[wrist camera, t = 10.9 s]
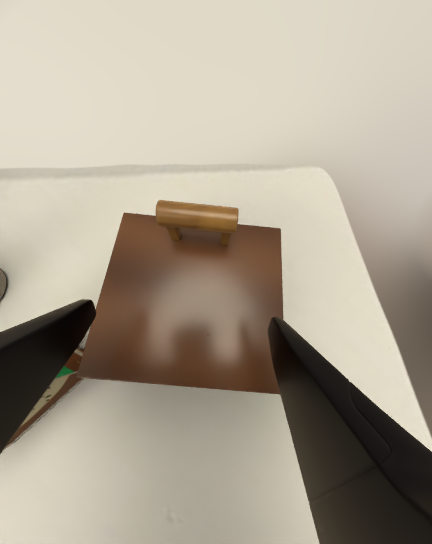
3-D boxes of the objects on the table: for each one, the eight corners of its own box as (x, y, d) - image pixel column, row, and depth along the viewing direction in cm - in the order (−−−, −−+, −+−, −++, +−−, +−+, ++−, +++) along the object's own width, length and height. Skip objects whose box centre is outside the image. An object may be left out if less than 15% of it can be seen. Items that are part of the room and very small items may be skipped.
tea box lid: (127, 217, 15) (92, 174, 10) (277, 232, 15) (306, 196, 10) (83, 374, 11) (3, 409, 7) (281, 390, 11) (326, 435, 7)
